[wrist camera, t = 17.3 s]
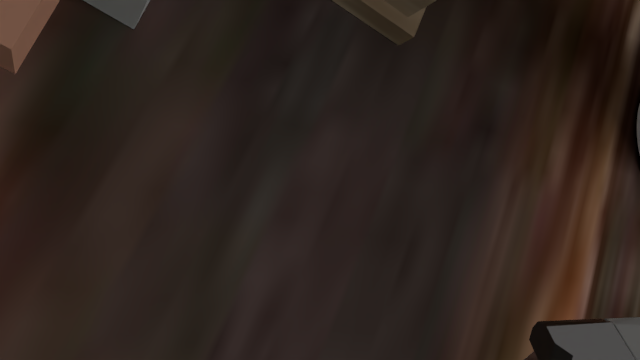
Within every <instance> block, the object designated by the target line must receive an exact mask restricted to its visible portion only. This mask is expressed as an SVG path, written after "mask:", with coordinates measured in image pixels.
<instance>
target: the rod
mask: <svg viewBox="0 0 640 360" xmlns="http://www.w3.org/2000/svg"><path fill="white" fill-rule="evenodd" d="M59 1H60V0H0V67H2V68H4V69H6V70H8V71H10V72H12V73H14V74H16V72H17V71H18V69H19V67H20V66H21V64H22V62H23V61H24V59H25V57H26V56H27V54H28V52H29V51H30V49H31V47H32V46H33V44H34V42H35V41H36V39H37V37H38V36H39V34H40V32H41V31H42V29H43V27H44V26H45V24H46V22H47V21H48V19H49V17H50V16H51V14H52V12H53V11H54V9H55V7H56V6H57V4H58V2H59Z"/></svg>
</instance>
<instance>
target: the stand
mask: <svg viewBox="0 0 640 360" xmlns="http://www.w3.org/2000/svg"><path fill="white" fill-rule="evenodd" d="M332 1H333V2H335V3H336V4H338V5H339V6H341V7H342V8H344V9H345V10H347V11H348V12H350V13H351V14H353V15H354V16H356V17H357V18H359V19H360V20H361V21H363V22H364V23H366V24H367V25H369V26H370V27H372V28H373V29H375V30H376V31H378V32H379V33H381V34H382V35H384V36H385V37H387V38H388V39H390V40H391V41H393V42H394V43H395V44H397V45H400V44H402V43H404V42H406V41H408V40H410V39H412V38H413V37H414V36H415V34H416V31H417V29H418V26H419V24H420V21H421V19H422V16H423V14H424V12H425V9H426V7H427V6H428V5H430V4H431V3H433V2H435V1H437V0H332Z"/></svg>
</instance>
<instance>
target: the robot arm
mask: <svg viewBox="0 0 640 360" xmlns="http://www.w3.org/2000/svg"><path fill="white" fill-rule="evenodd" d="M637 142H638V149H639V154H640V104H639V109H638V115H637ZM529 340H530V342H531V345H532V347H533V349H534V352H533V353H531V354H530V355H529V356H528V357H527V358H525V359H524V360H640V317H636V318H611V319H604V320H603V319H582V320H560V321H539V322H537V323H536V324H535V326H534V327H533V328H532V332H531V335H530V339H529Z"/></svg>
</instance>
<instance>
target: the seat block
mask: <svg viewBox="0 0 640 360" xmlns="http://www.w3.org/2000/svg"><path fill="white" fill-rule="evenodd" d="M83 1H85V2H87V3H89V4H90V5H92V6H94V7H96V8H97V9H99V10H101V11H102V12H104V13H106V14H108V15H109V16H111V17H113V18H115V19H116V20H118V21H120V22H122V23H123V24H125V25H127V26H129V27H130V28H132V29H135V27H136V25H137V23H138V21H139V20H140V18H141V16H142V14H143V12H144V11H145V9H146V7H147V5H148V3H149V2H150V0H83Z"/></svg>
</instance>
